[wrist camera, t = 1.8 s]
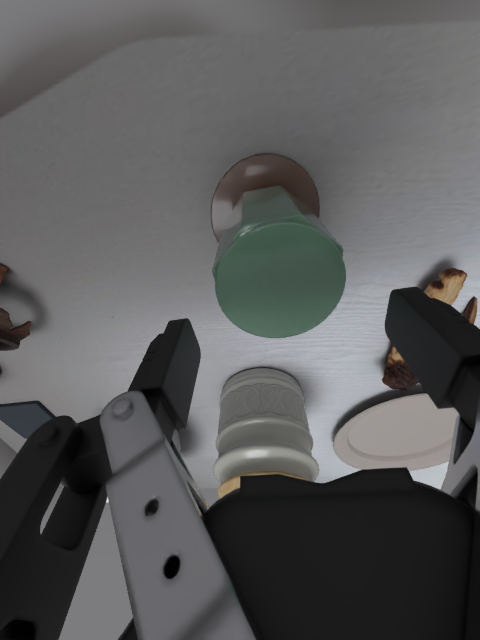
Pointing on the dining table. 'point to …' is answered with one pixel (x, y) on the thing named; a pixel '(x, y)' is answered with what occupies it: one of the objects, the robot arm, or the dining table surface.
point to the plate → (398, 435)
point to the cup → (277, 266)
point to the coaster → (25, 416)
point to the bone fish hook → (443, 290)
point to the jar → (262, 429)
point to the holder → (261, 185)
